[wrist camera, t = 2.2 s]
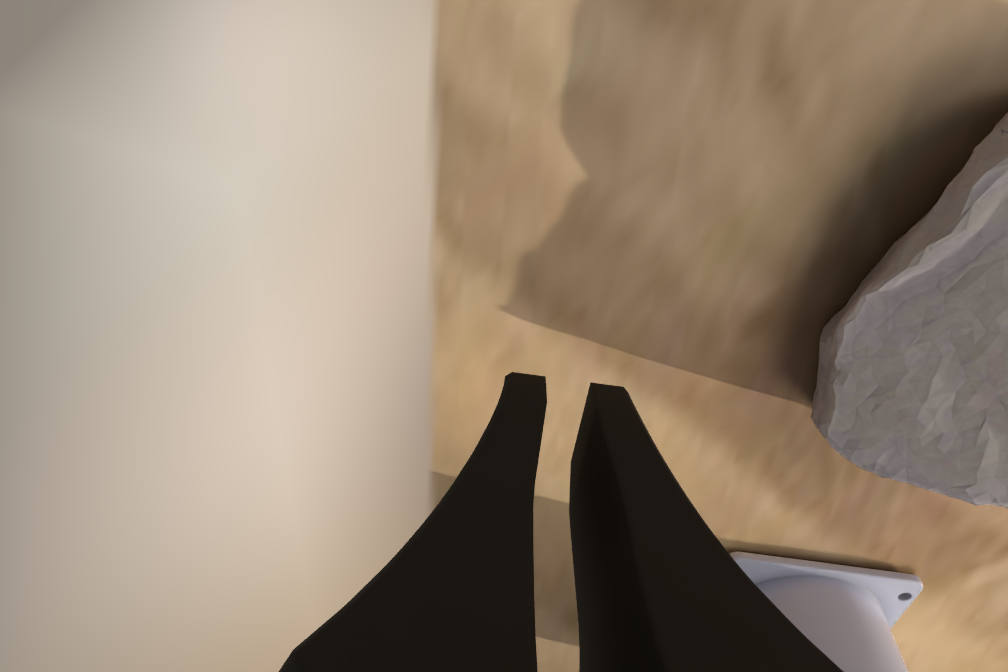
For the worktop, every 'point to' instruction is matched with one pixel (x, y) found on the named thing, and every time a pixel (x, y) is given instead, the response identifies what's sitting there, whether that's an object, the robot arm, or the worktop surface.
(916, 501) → the worktop surface
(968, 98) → the worktop surface
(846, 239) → the worktop surface
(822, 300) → the worktop surface
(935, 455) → the grey rock
